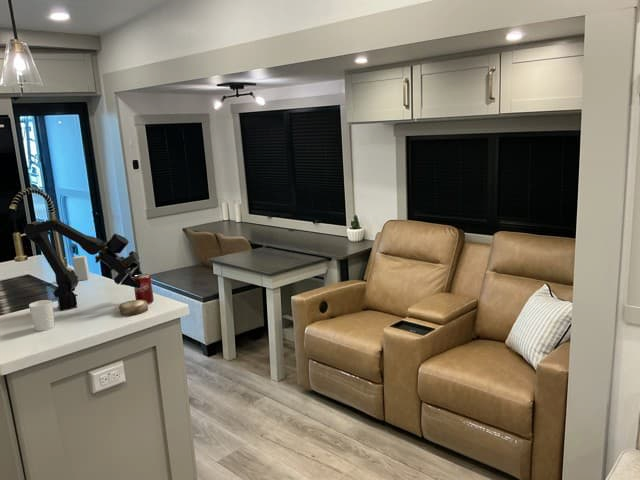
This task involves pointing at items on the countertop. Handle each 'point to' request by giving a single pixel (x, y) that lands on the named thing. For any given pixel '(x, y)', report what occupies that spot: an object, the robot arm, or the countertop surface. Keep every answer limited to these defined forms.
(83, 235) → the robot arm
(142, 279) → the soda can
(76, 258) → the skincare box
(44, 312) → the white cup
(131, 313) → the pedestal
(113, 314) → the countertop surface
